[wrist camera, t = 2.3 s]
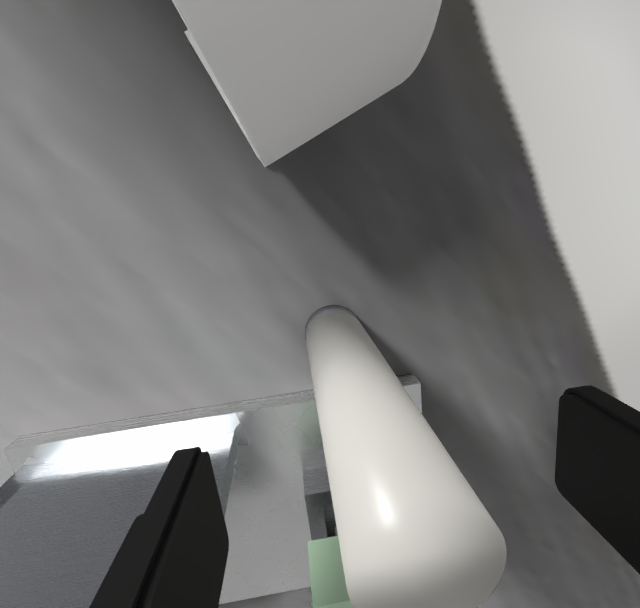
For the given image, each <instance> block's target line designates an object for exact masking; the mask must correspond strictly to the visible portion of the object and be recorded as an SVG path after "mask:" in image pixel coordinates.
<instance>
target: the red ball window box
mask: <svg viewBox="0 0 640 608" xmlns="http://www.w3.org/2000/svg"><path fill="white" fill-rule="evenodd" d="M397 378H398V379H399V381H400V382H401V384H402V385H403V387H404V388H405V390H406V391H407V393H408V394H409V396H410V397H411V399H412V400H413V402H414V403H415V405H416V406H417V408H418V409H419V411H420V412H421V414H422V403H421V383H420V382H419V381H418V379H417V378H416V377H415V376H414V374H412V375H406V376H400V377H397ZM194 447H200V448H201V450H202V452H208V453H209V455H210V459H211V463H212V468H213V472H214V476H215V480H216V485H217V489H218V493H219V498H220V502H221V506H222V511H223V515H224V519H225V524H226V528H227V532H228V537H229V551H228V557H227V563H226V568H225V574H224V579H223V585H222V590H221V595H220V601H219V604H224V603H229V602H234V601H239V600H245V599H250V598H255V597H260V596H265V595H270V594H276V593H281V592H286V591H291V590H296V589H301V588H307V587H311V582H310V568H309V554H308V541H312V540H318V539H323V538H329V537H334V536H336V535H335V527H336V521H335V515H334V509H333V503H332V497H331V491H330V484H329V478H328V472H327V466H326V460H325V454H324V448H323V442H322V436H321V430H320V424H319V418H318V412H317V406H316V400H315V394H314V390H311V391H304V392H298V393H292V394H285V395H279V396H273V397H266V398H260V399H254V400H247V401H241V402H235V403H228V404H222V405H215V406H209V407H203V408H196V409H190V410H184V411H177V412H171V413H165V414H158V415H152V416H146V417H139V418H133V419H126V420H120V421H114V422H107V423H101V424H95V425H88V426H82V427H76V428H69V429H63V430H57V431H50V432H44V433H37V434H31V435H25V436H19V437H18V438H17V439H16V440H15V441H13V442H12V443H11V444H10V445H9V446H8V447H6V448H5V449H4V451H5V454H6V456H7V458H8V461H9V463H10V465H11V468H12V470H13V472H14V475H13V476H11V477H10V478H9V479H8V480H7V481H6V482H5V483H4V484H3V485H2V486H1V487H0V608H89V607H90V605H91V603H92V601H93V599H94V597H95V595H96V593H97V591H98V589H99V587H100V585H101V584H102V582H103V580H104V578H105V576H106V574H107V572H108V570H109V568H110V566H111V564H112V562H113V560H114V558H115V556H116V554H117V552H118V550H119V549H120V547H121V545H122V543H123V541H124V539H125V537H126V535H127V533H128V531H129V529H130V527H131V525H132V523H133V522H134V520H135V519H136V517H137V516H139V515H140V514H144V512H145V510H146V508H147V506H148V504H149V502H150V500H151V498H152V496H153V494H154V492H155V490H156V488H157V486H158V484H159V482H160V480H161V478H162V476H163V474H164V472H165V470H166V468H167V466H168V463H169V461H170V459H171V457H172V455H173V453H174V452H175V451H176V450H181V449H187V448H194Z"/></svg>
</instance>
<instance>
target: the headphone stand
mask: <svg viewBox="0 0 640 608" xmlns="http://www.w3.org/2000/svg"><path fill="white" fill-rule="evenodd" d="M172 2H173V3H174V5H175V7H176V9H177V10H178V12H179V14H180V16H181V18H182V19H183V21H184V23H185V25H186V26H187V28H188V29H187V30H186V31H184V33H185V34H186V36H187V38H188V40H189V41H190V43H191V45H192V47H193V48H194V50H195V52H196V53H197V55H198V57H199V59H200V60H201V62H202V64H203V65H204V67H205V69H206V70H207V72H208V74H209V76H210V77H211V79H212V81H213V82H214V84H215V86H216V88H217V89H218V91H219V93H220V94H221V96H222V98H223V99H224V101H225V103H226V105H227V106H228V108H229V110H230V111H231V113H232V115H233V117H234V118H235V120H236V122H237V123H238V125H239V127H240V129H241V130H242V132H243V134H244V135H245V137H246V139H247V140H248V142H249V144H250V146H251V147H252V149H253V151H254V152H255V154H256V156H257V158H258V159H259V160H260V161H261V162H262V164H263V165H264V167H267V166H268V165H270V164H272V163H273V162H275V161H276V160H278V159H280V158H281V157H283V156H285V155H286V154H288V153H289V152H291V151H293V150H294V149H296V148H298V147H299V146H301V145H302V144H304V143H306V142H307V141H309V140H311V139H312V138H314V137H315V136H317V135H319V134H320V133H322V132H323V131H325V130H327V129H328V128H330V127H332V126H333V125H335V124H336V123H338V122H340V121H341V120H343V119H345V118H346V117H348V116H349V115H351V114H353V113H354V112H356V111H358V110H359V109H361V108H362V107H364V106H366V105H367V104H369V103H370V102H372V101H374V100H375V99H377V98H379V97H380V96H382V95H383V94H385V93H387V92H388V91H390V90H392V89H393V88H395V87H396V86H398V85H400V84H401V83H403V82H404V81H405V80H406V79H407V78H408V77H410V75H411V74H412V73H413V71H414V70H415V69H416V68H417V66H418V65H419V63H420V61H421V59H422V57H423V55H424V53H425V52H426V49H427V47H428V44H429V42H430V39H431V36H432V34H433V31H434V28H435V25H436V21H437V17H438V14H439V10H440V7H441V3H442V0H172Z"/></svg>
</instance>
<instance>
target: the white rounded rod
mask: <svg viewBox="0 0 640 608" xmlns="http://www.w3.org/2000/svg"><path fill="white" fill-rule="evenodd" d="M305 339H306V345H307V351H308V357H309V363H310V369H311V375H312V381H313V387H314V394H315V400H316V406H317V412H318V418H319V424H320V430H321V436H322V442H323V448H324V454H325V460H326V466H327V472H328V478H329V484H330V491H331V497H332V503H333V509H334V515H335V521H336V527H337V533H338V539H339V545H340V551H341V557H342V563H343V569H344V575H345V581H346V587H347V592H348V596H349V598H350V600H351V603H352V604H353V606H354V607H355V608H477V607H479V606H480V605H481V604H482V603H483V602H484V601H485V600H486V599H487V598H488V597H489V596H490V595H491V593H492V592H493V591H494V589H495V588H496V586H497V585H498V583H499V581H500V580H501V577H502V575H503V572H504V569H505V565H506V559H507V549H506V544H505V540H504V537H503V535H502V532H501V531H500V529H499V528H498V526H497V525H496V523H495V522H494V520H493V519H492V517H491V516H490V514H489V513H488V511H487V510H486V508H485V507H484V506H483V504H482V503H481V501H480V500H479V498H478V497H477V495H476V494H475V492H474V491H473V489H472V488H471V486H470V485H469V483H468V482H467V480H466V479H465V477H464V476H463V474H462V473H461V471H460V470H459V468H458V467H457V465H456V464H455V463H454V461H453V460H452V458H451V457H450V455H449V454H448V452H447V451H446V449H445V448H444V446H443V445H442V443H441V442H440V440H439V439H438V437H437V436H436V434H435V433H434V431H433V430H432V428H431V427H430V425H429V424H428V422H427V421H426V419H425V418H424V417H423V415H422V414H421V412H420V411H419V409H418V408H417V406H416V405H415V403H414V402H413V400H412V399H411V397H410V396H409V394H408V393H407V391H406V390H405V388H404V387H403V385H402V384H401V382H400V381H399V379H398V378H397V376H396V375H395V374H394V372H393V371H392V369H391V368H390V366H389V365H388V363H387V362H386V360H385V359H384V357H383V356H382V354H381V353H380V351H379V350H378V348H377V347H376V345H375V344H374V342H373V341H372V339H371V338H370V336H369V335H368V333H367V332H366V330H365V329H364V328H363V326H362V325H361V323H360V322H359V320H358V319H357V317H356V316H355V314H354V313H353V312H351V311H350V310H349V309H347V308H345V307H342V306H338V305H330V306H325V307H323V308H320V309H319V310H317V311H316V312H315V313H313V314H312V316H311V317H310V318H309V320H308V322H307V324H306V327H305Z"/></svg>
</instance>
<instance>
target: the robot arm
mask: <svg viewBox="0 0 640 608" xmlns="http://www.w3.org/2000/svg"><path fill="white" fill-rule="evenodd" d="M555 483H556V486H557V488H558V490H559V492H560V493H561V494H562V496H563V497H564V498H565V499H566V500H567V501H568V502H569V503H570V504H571V505H572V506H573V507H574V508H575V509H576V510H577V511H578V512H579V513H580V514H581V515H582V516H583V517H584V518H585V519H586V520H587V521H588V522H589V523H590V524H591V525H592V526H593V527H594V528H595V529H596V530H597V531H598V532H599V533H600V534H601V535H602V536H603V537H604V538H605V539H606V540H607V541H608V542H609V543H610V544H611V545H612V546H613V547H614V548H615V549H616V550H617V552H618V553H619V554H620V555H621V556H622V557H623V558H624V559H625V560H626V561H627V562H628V563H629V564H630V565H631V566H632V567H633V568H634V569H635V570H636V571H637V572H638V573H639V574H640V412H639V411H637V410H636V409H634V408H632V407H630V406H628V405H627V404H624V403H623V402H621V401H619V400H618V399H616V398H614V397H612V396H610V395H609V394H607V393H605V392H603V391H601V390H599V389H598V388H596V387H593V386H581V387H575V388H569V389H567V390H565V392H564V394H563V395H562V396H561V397H560V399H559V412H558V430H557V448H556V467H555ZM228 551H229V537H228V532H227V528H226V524H225V519H224V515H223V511H222V506H221V502H220V498H219V493H218V489H217V485H216V480H215V476H214V472H213V468H212V463H211V459H210V455H209V453H208V452H202V450H201V448H200V447H194V448H187V449H181V450H176V451H175V452H174V453H173V455H172V457H171V459H170V461H169V463H168V466H167V468H166V470H165V472H164V474H163V476H162V478H161V480H160V482H159V484H158V486H157V488H156V490H155V492H154V494H153V496H152V498H151V500H150V502H149V504H148V506H147V508H146V510H145V512H144V514H140V515H139V516H137V517H136V519H135V520H134V522H133V523H132V525H131V527H130V529H129V531H128V533H127V535H126V537H125V539H124V541H123V543H122V545H121V547H120V549H119V550H118V552H117V554H116V556H115V558H114V560H113V562H112V564H111V566H110V568H109V570H108V572H107V574H106V576H105V578H104V580H103V582H102V584H101V585H100V587H99V589H98V591H97V593H96V595H95V597H94V599H93V601H92V603H91V605H90V607H89V608H218V606H219V601H220V595H221V590H222V585H223V579H224V574H225V568H226V563H227V557H228Z"/></svg>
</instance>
